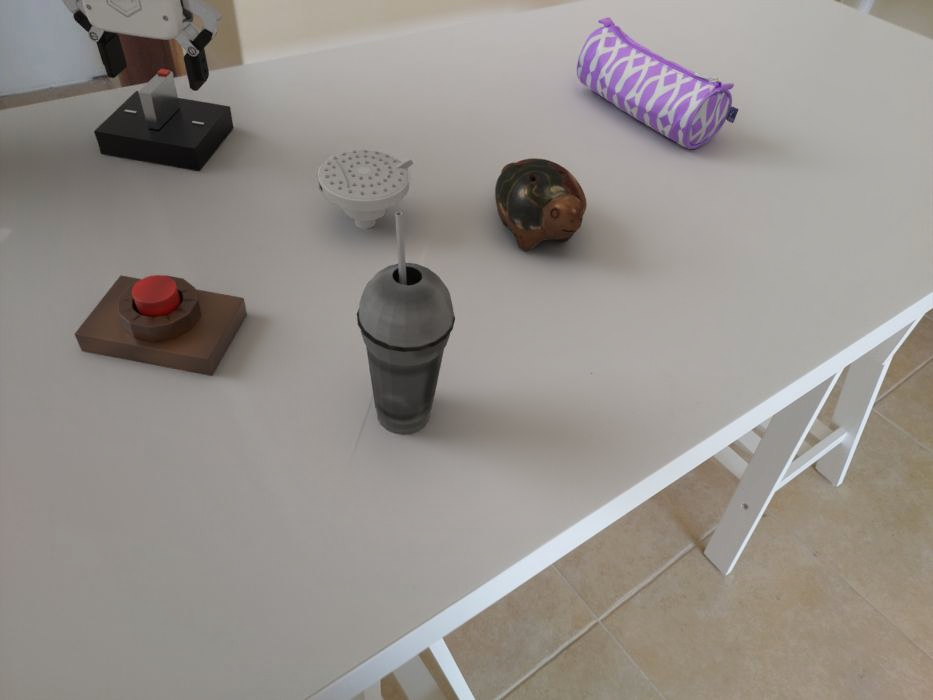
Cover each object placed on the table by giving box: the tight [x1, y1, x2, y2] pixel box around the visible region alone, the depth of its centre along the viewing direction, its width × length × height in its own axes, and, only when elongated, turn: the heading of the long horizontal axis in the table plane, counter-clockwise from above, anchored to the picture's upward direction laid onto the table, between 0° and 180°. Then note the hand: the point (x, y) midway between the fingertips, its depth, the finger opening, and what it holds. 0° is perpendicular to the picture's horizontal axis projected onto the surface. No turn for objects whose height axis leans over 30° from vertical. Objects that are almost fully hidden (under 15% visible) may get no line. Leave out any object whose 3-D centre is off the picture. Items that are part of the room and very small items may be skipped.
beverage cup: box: [356, 211, 456, 435], centre depth 56 cm, size 7×7×20 cm
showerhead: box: [317, 149, 414, 230], centre depth 78 cm, size 9×7×10 cm
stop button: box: [132, 274, 180, 317], centre depth 64 cm, size 4×4×2 cm
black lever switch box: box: [93, 90, 235, 172], centre depth 87 cm, size 12×10×3 cm
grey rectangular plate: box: [138, 68, 180, 130], centre depth 85 cm, size 6×1×5 cm, turn 170°
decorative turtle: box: [494, 158, 588, 252], centre depth 80 cm, size 10×15×8 cm, turn 27°
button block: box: [74, 275, 248, 377], centre depth 66 cm, size 12×8×4 cm, turn 80°
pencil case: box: [576, 16, 739, 150], centre depth 99 cm, size 22×9×10 cm, turn 42°
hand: (158, 78), depth 83 cm, fingers open, 9 cm apart
